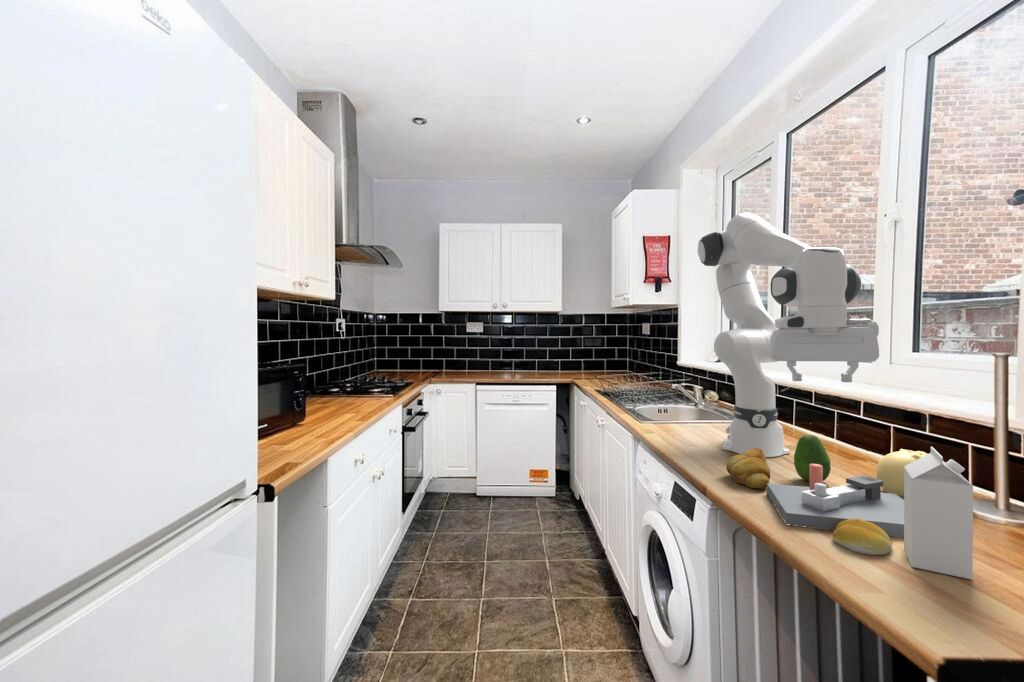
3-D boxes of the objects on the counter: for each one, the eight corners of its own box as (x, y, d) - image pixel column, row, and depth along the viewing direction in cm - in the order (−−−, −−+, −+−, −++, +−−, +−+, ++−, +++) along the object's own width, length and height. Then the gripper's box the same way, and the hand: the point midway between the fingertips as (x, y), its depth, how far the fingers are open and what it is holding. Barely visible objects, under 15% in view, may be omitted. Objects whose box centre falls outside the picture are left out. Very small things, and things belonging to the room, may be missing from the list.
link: (823, 511, 88) (823, 499, 88) (801, 503, 93) (801, 491, 92) (869, 501, 92) (869, 490, 92) (846, 494, 97) (846, 482, 97)
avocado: (790, 475, 116) (790, 430, 116) (825, 478, 114) (825, 432, 113) (798, 485, 109) (798, 438, 109) (836, 489, 106) (835, 440, 106)
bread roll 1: (777, 493, 105) (777, 460, 104) (732, 490, 108) (732, 458, 107) (763, 475, 117) (763, 446, 117) (723, 473, 120) (723, 444, 120)
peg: (808, 502, 99) (808, 463, 99) (821, 504, 98) (820, 464, 98) (811, 506, 97) (810, 466, 96) (824, 508, 96) (823, 467, 95)
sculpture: (961, 508, 94) (961, 458, 94) (896, 505, 96) (896, 456, 96) (922, 488, 105) (923, 444, 105) (865, 486, 108) (865, 442, 107)
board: (767, 493, 104) (766, 464, 104) (895, 504, 96) (895, 473, 96) (786, 525, 88) (786, 490, 88) (942, 541, 80) (942, 503, 80)
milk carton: (911, 568, 72) (912, 454, 71) (903, 549, 78) (903, 443, 77) (972, 581, 68) (973, 460, 68) (959, 560, 74) (960, 449, 73)
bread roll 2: (829, 546, 80) (829, 525, 80) (839, 530, 86) (838, 509, 86) (888, 563, 74) (889, 540, 74) (894, 544, 80) (894, 522, 80)
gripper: (871, 318, 97) (871, 380, 97) (767, 320, 103) (767, 378, 104) (885, 318, 91) (884, 384, 91) (773, 320, 97) (773, 382, 98)
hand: (821, 381), depth 98 cm, fingers open, 8 cm apart
